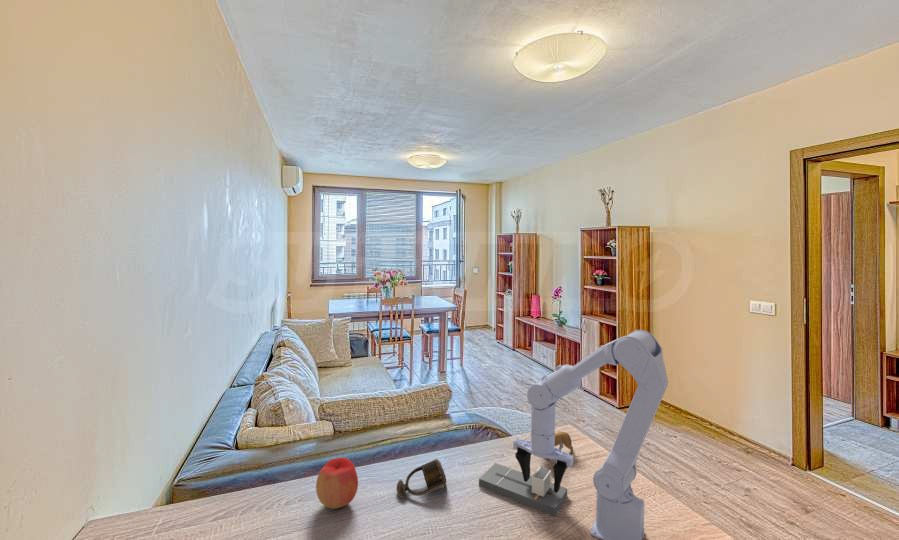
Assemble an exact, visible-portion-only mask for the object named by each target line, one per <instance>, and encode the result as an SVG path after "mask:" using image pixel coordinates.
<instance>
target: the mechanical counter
mask: <svg viewBox="0 0 899 540" xmlns="http://www.w3.org/2000/svg"><path fill="white" fill-rule="evenodd" d="M420 471H422V474H423V477H424V480H425V484H426V487H427V488H426V489H425V490H422V491H414V490H412V489H411V488H410V486H409V483H410V482H409V481H410V479H411V478H412V477H413V475H414V474H415V473H418V472H420ZM441 488H443V489H444V491H445V492H448V485H447V477H446V474H445V471H444V468H443V465H442V463H441V461H440V460H439V459H438V458H436V459H434V460H431V461H429V462H427V463H425V464H422V465H421V466H418V467H416V468H414V469H413V470H411V472H410V473H409V474H407V476H406V479H405V483H404V482H403V480H402V479H399V480H398V481H397V482H396V492H397V494H398V496H399V498H401V499H406V498H407V492H409V494H410V495H413V496H418V497H420V496H421V497H422V496H425V495H427V494H430V493H432V492H433V491H436V490H438V489H439V490H440V489H441Z"/></svg>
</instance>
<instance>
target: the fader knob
mask: <svg viewBox="0 0 899 540" xmlns="http://www.w3.org/2000/svg"><path fill="white" fill-rule="evenodd" d="M531 476H532V493H535V494H537V495H540V496H543V497H544V496H545V494H546V493H547V491H548V490H549V488H550V487H551V483H552V470H550V469H547V468H546V467H541V466H539V467H538V468H537V469H536V470H535V472H534V473H533V474H532V475H531Z"/></svg>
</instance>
